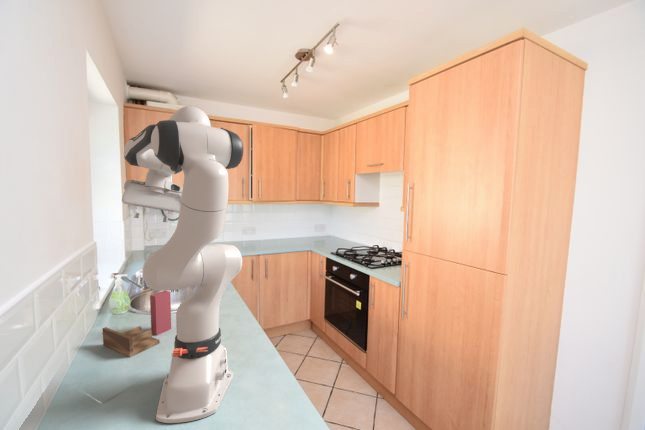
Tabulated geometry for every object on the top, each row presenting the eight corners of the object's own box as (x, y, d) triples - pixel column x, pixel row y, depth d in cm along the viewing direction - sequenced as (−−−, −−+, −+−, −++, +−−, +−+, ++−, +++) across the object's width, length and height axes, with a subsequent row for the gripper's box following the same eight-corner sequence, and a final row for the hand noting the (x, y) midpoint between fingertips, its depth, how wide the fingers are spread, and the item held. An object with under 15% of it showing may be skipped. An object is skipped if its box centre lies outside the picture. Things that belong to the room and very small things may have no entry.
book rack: (133, 333, 108) (132, 317, 108) (159, 343, 101) (159, 326, 100) (103, 345, 99) (102, 328, 99) (130, 357, 92) (129, 339, 92)
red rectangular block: (166, 327, 113) (165, 290, 112) (171, 328, 112) (170, 291, 111) (151, 333, 108) (150, 295, 107) (156, 335, 106) (155, 296, 105)
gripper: (125, 176, 101) (116, 214, 98) (187, 189, 111) (180, 223, 109) (126, 180, 106) (118, 216, 104) (185, 191, 116) (179, 224, 114)
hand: (150, 220), depth 106 cm, fingers open, 8 cm apart
